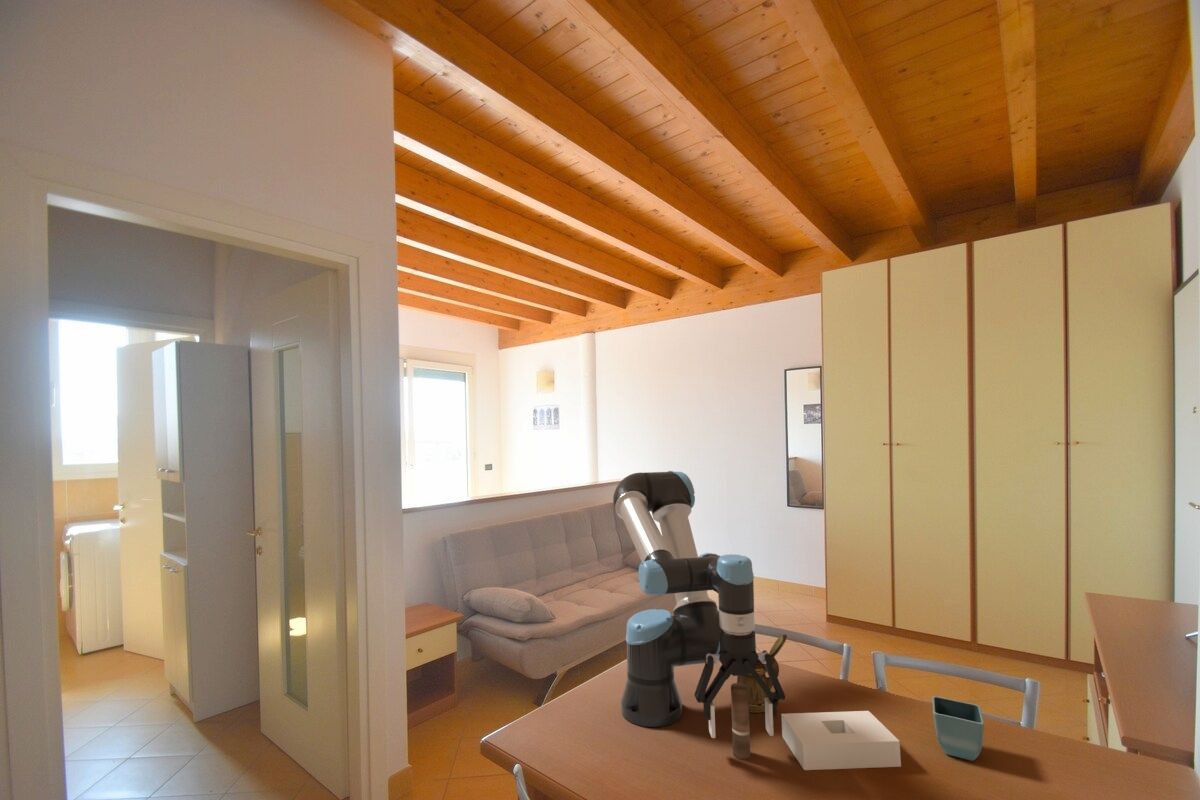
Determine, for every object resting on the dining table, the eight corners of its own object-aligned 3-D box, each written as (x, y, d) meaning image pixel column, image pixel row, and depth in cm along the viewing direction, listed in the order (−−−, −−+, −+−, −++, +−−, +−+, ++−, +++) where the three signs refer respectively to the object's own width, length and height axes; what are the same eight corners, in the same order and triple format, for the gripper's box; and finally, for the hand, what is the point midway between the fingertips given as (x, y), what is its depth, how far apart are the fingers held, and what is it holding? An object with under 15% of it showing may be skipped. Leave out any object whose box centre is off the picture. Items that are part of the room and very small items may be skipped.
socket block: (782, 736, 120) (781, 713, 120) (869, 733, 120) (868, 710, 121) (804, 770, 108) (802, 744, 108) (901, 766, 108) (899, 741, 109)
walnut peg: (730, 749, 115) (728, 683, 116) (747, 749, 115) (745, 682, 116) (735, 760, 112) (733, 691, 113) (752, 759, 112) (750, 690, 113)
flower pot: (982, 747, 114) (979, 704, 115) (987, 770, 107) (984, 723, 107) (934, 736, 119) (931, 695, 119) (935, 757, 111) (933, 713, 112)
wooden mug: (791, 718, 127) (787, 641, 129) (733, 710, 132) (730, 635, 133) (789, 700, 136) (786, 628, 137) (735, 693, 140) (732, 623, 141)
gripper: (685, 637, 111) (688, 745, 110) (798, 634, 112) (803, 741, 110) (679, 625, 119) (682, 725, 117) (785, 621, 119) (789, 722, 118)
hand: (741, 733), depth 114 cm, fingers open, 12 cm apart
